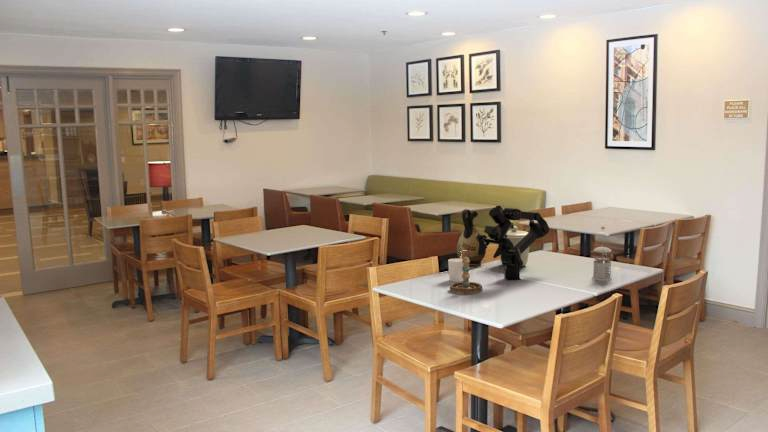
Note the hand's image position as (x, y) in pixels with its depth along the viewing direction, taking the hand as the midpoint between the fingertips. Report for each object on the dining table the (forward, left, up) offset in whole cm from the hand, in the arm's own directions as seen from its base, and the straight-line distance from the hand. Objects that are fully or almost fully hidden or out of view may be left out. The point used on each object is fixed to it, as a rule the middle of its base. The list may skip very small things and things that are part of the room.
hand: (486, 256), depth 307 cm
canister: (-23, -42, -14) cm, 50 cm away
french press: (-57, -7, -14) cm, 59 cm away
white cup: (+12, -12, -14) cm, 22 cm away
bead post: (+11, +8, -13) cm, 19 cm away
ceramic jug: (-1, -48, -14) cm, 50 cm away
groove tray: (+11, +8, -14) cm, 19 cm away
